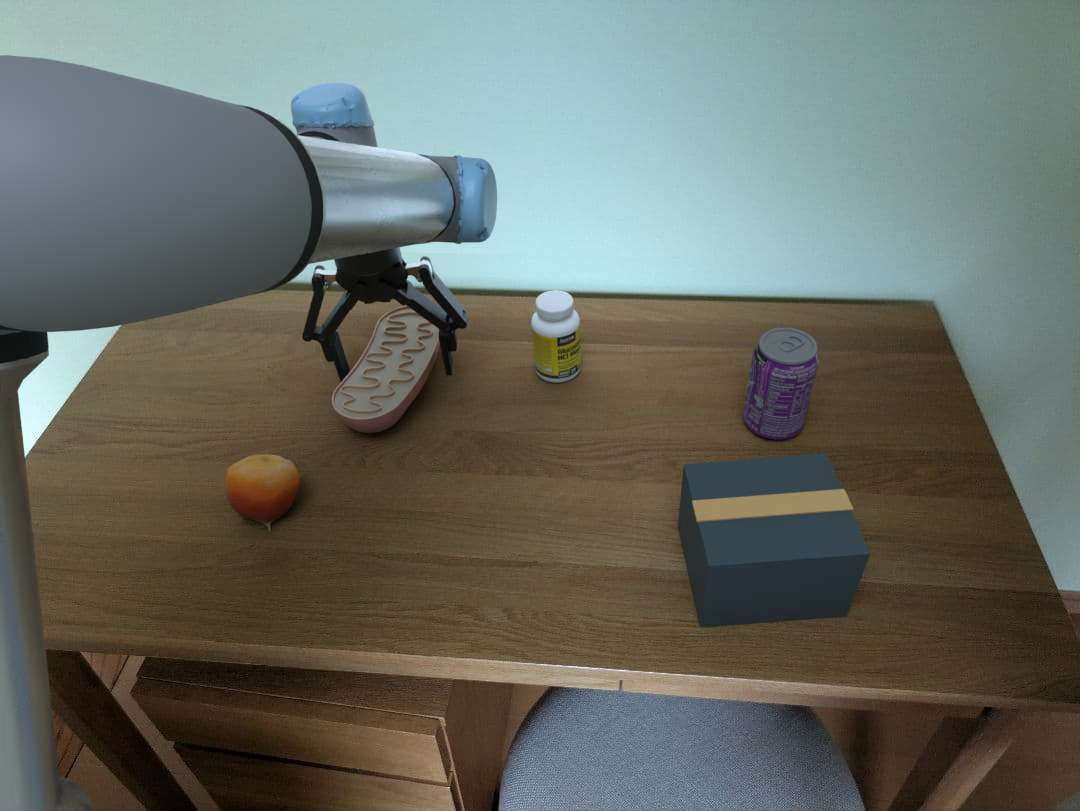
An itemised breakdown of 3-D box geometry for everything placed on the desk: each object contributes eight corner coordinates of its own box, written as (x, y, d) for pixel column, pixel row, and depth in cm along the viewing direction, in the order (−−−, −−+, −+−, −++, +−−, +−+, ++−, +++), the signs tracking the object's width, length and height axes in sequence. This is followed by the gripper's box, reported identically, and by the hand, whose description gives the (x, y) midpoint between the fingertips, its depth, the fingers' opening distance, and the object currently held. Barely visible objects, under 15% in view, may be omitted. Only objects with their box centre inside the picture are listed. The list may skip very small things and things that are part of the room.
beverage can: (768, 394, 97) (782, 316, 89) (815, 424, 93) (835, 345, 84) (729, 421, 94) (741, 343, 86) (777, 453, 90) (794, 374, 81)
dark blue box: (698, 627, 74) (707, 564, 67) (676, 527, 83) (682, 462, 76) (848, 616, 74) (872, 552, 67) (809, 517, 83) (828, 451, 76)
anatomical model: (396, 330, 111) (389, 301, 108) (461, 336, 109) (457, 307, 106) (329, 443, 95) (318, 414, 92) (404, 453, 93) (397, 423, 90)
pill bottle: (563, 390, 100) (559, 321, 92) (525, 373, 103) (518, 305, 95) (590, 364, 103) (589, 296, 96) (553, 348, 106) (549, 281, 99)
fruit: (207, 530, 85) (207, 460, 83) (253, 507, 92) (254, 442, 90) (271, 545, 82) (273, 474, 81) (313, 520, 90) (315, 454, 88)
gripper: (473, 204, 89) (492, 347, 104) (257, 221, 89) (307, 362, 104) (472, 238, 84) (492, 384, 98) (242, 257, 84) (297, 400, 98)
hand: (397, 373), depth 101 cm, fingers open, 13 cm apart
